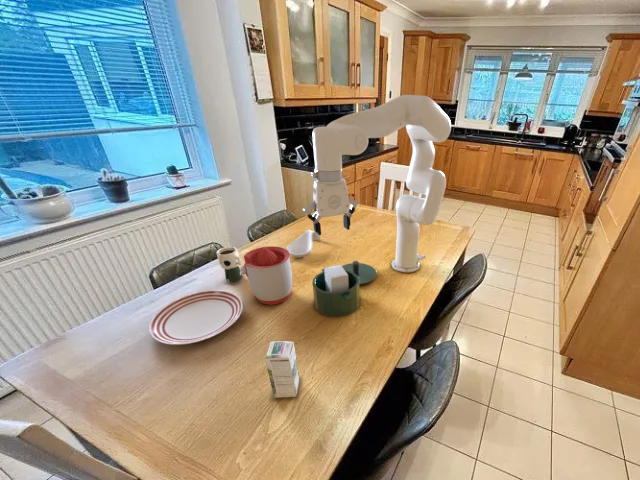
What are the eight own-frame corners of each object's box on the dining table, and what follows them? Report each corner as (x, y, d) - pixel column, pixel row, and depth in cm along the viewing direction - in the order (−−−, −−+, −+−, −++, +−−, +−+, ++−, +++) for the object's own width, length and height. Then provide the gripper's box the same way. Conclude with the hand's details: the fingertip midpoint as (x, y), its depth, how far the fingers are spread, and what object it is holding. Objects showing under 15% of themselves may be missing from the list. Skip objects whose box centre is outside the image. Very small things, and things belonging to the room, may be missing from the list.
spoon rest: (306, 262, 137) (304, 248, 133) (282, 259, 139) (280, 244, 135) (326, 240, 157) (325, 227, 153) (304, 238, 158) (303, 225, 154)
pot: (345, 282, 124) (344, 262, 119) (370, 311, 109) (370, 289, 104) (306, 293, 117) (303, 272, 112) (328, 326, 102) (326, 303, 96)
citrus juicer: (246, 289, 118) (234, 242, 107) (292, 281, 123) (285, 236, 112) (247, 313, 106) (233, 263, 95) (298, 303, 112) (291, 255, 100)
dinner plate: (198, 361, 87) (195, 352, 86) (130, 336, 95) (126, 328, 93) (262, 307, 109) (260, 299, 107) (202, 290, 116) (200, 283, 115)
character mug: (217, 281, 122) (208, 252, 115) (230, 272, 128) (222, 244, 121) (239, 286, 119) (231, 257, 112) (251, 278, 125) (244, 249, 118)
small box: (349, 305, 111) (348, 275, 103) (333, 310, 108) (330, 279, 101) (342, 294, 117) (340, 264, 109) (326, 297, 114) (323, 267, 107)
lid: (364, 262, 139) (364, 249, 136) (384, 279, 127) (384, 266, 124) (329, 270, 132) (328, 258, 128) (346, 290, 120) (345, 277, 116)
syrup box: (278, 380, 83) (268, 341, 75) (300, 379, 83) (293, 340, 75) (273, 398, 78) (263, 358, 70) (297, 397, 78) (289, 357, 70)
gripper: (304, 181, 81) (310, 240, 91) (361, 175, 89) (362, 230, 99) (295, 175, 87) (302, 231, 96) (350, 169, 94) (352, 222, 104)
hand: (332, 230), depth 97 cm, fingers open, 9 cm apart
